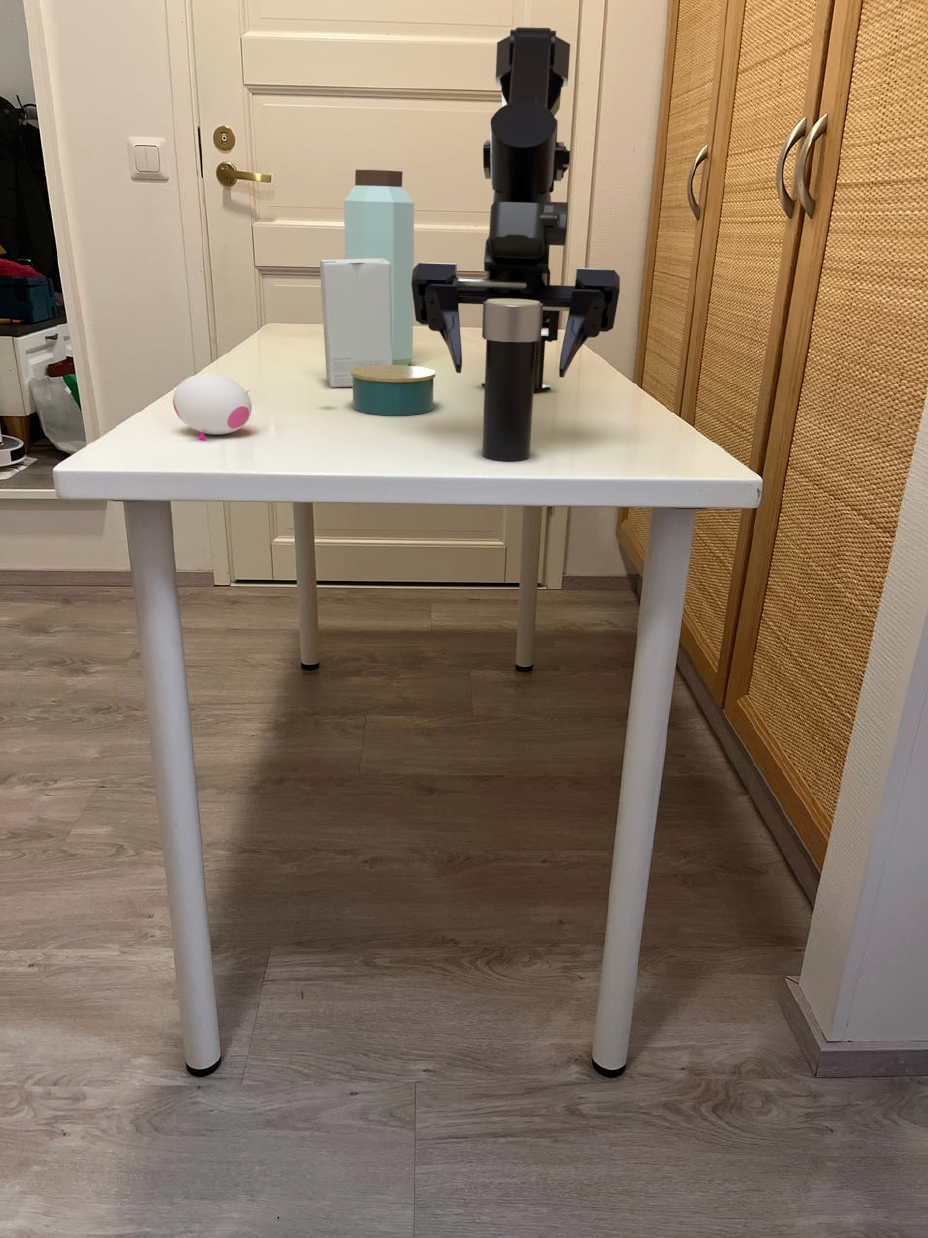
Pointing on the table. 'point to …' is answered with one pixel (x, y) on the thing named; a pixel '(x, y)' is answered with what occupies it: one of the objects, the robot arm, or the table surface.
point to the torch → (509, 376)
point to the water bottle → (385, 243)
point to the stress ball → (212, 404)
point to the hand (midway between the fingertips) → (509, 372)
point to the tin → (392, 389)
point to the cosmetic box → (356, 316)
